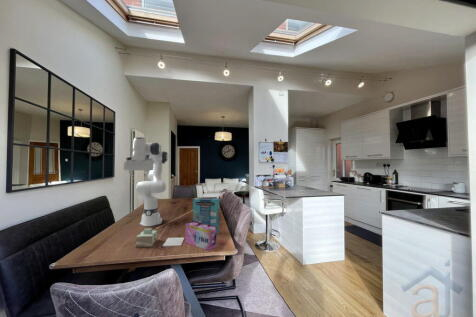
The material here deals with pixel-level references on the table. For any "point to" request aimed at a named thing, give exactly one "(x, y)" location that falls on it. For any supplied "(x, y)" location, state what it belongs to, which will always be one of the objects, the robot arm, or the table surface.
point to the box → (146, 240)
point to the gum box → (201, 235)
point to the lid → (148, 232)
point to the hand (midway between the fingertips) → (138, 176)
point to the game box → (206, 211)
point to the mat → (174, 242)
